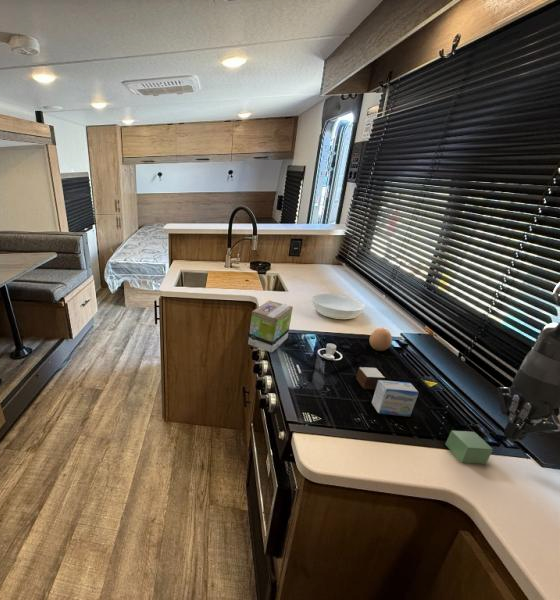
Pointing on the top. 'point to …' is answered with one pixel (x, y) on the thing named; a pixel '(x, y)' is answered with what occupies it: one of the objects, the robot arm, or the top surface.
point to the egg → (380, 339)
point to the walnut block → (369, 377)
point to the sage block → (468, 447)
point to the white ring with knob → (329, 352)
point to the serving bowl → (337, 306)
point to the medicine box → (394, 398)
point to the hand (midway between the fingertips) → (511, 438)
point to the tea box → (270, 325)
